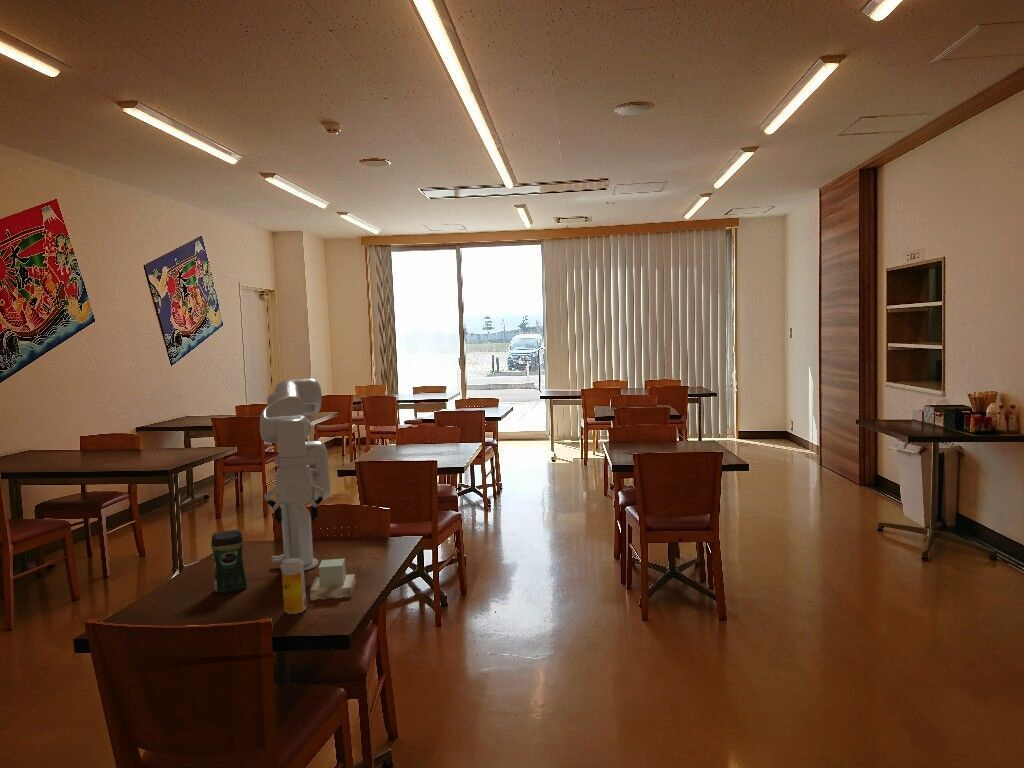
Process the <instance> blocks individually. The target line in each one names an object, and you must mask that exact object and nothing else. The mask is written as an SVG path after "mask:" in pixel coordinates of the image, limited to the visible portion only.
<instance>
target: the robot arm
mask: <svg viewBox="0 0 1024 768" xmlns="http://www.w3.org/2000/svg"><path fill="white" fill-rule="evenodd" d="M322 394H323V393H322V387H321V385H320V383H319V382H318V381H317V380H316V379H314V378H312V377H311V378H294V379H293V378H292V379H285V380H282V381H280V382H278V383H277V384H276V385H275V388H274V392H273V393H271V394H269V395H268V397H267V399H266V407H264V408H263V410H262V411H261V414H260V419H259V433H260V437H261V440H262V441H264V442H265V443H266V444H275V443H277V446H278V457H276V458H274V459H273V463H274V464H275V465H276V464H277V465H278V467H276V471H275V484H274V485H275V488H272V489H271V490H269V491H268V492H266V493H264V494H263V497H264V499H265V501H266V502H267V505H269V506H270V507H271V508H272V509H273V510H274V518H275V521H276V523H277V524H281V530H282V544H283V545H282V548H283V554H280V555H271V557H270V561H271V562H272V563H273V564H279V563H280V564H279V569H280V570H281V565H282V561H283V560H285V559H287V558H293V557H299V558H301V559H302V561H303V564H304V571H309V570H311V569H314V568H316V567H318V565H319V560H318V559H317V558H315V557H314V548H313V534H312V522H315V521H316V520H317V518H318V517H319V512H318V511H319V510H318V508H319V507H318V506H319V504H320V503H321V502H322V501H324V500H327V499H328V498H329V497H330V495H331V478H330V467H329V456H328V449H327V447H326V444H325V443H324V442H323V441H320V440H312V441H306V439H308V438H309V436H310V434H312V433H311V432H312V423H311V420H309V418H308V417H307V416H309V415H310V416H311V415H317V414H318V413H319V412H320V411H321V408H322V396H323V395H322ZM312 470H314V471H315V472H312ZM274 494H275V500H274V499H272V496H273V495H274ZM306 502H307V503H309V504H310V505H311V508H310V511H309V509H308V508H307V507H306V506H304V505H303V504H302V503H306ZM310 512H311V513H310Z"/></svg>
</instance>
